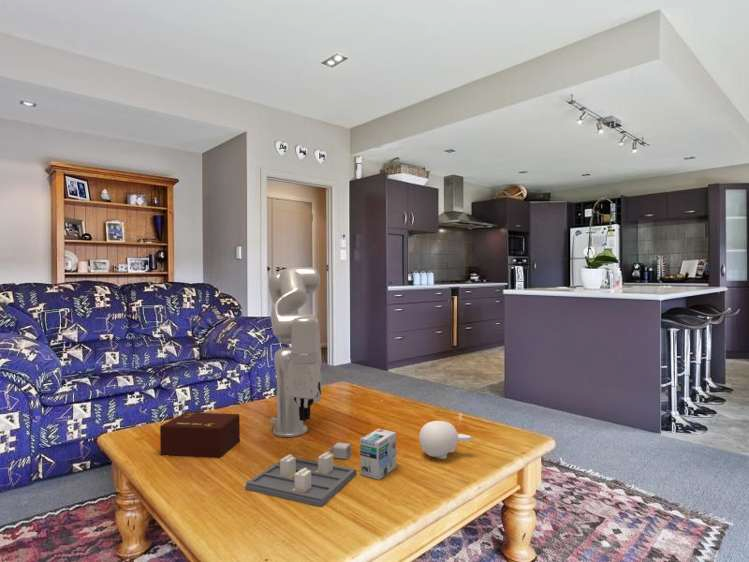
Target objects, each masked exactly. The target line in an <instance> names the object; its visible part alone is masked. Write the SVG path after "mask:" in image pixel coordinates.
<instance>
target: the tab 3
mask: <svg viewBox="0 0 749 562" xmlns="http://www.w3.org/2000/svg"><path fill="white" fill-rule="evenodd" d="M317 462H318V472H319V473H324V474H328V473H329V472H331V471H332V470H333V465H334V453H333V454H331V453H330V452H328V451H326V452H323V453H322V454H320V455H319V456H318V457H317Z"/></svg>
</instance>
